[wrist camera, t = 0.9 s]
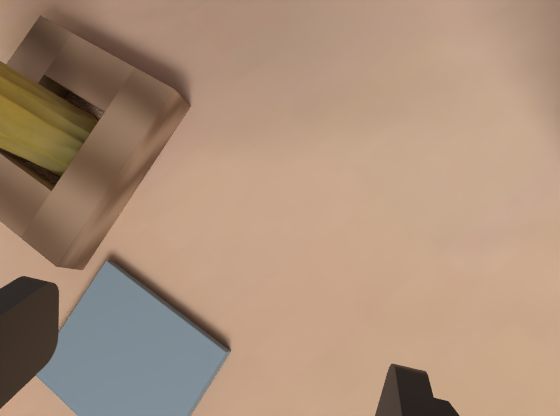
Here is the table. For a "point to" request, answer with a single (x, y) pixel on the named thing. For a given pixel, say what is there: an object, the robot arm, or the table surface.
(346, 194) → the table surface
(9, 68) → the vase
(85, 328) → the slate mat
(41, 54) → the socket stand
